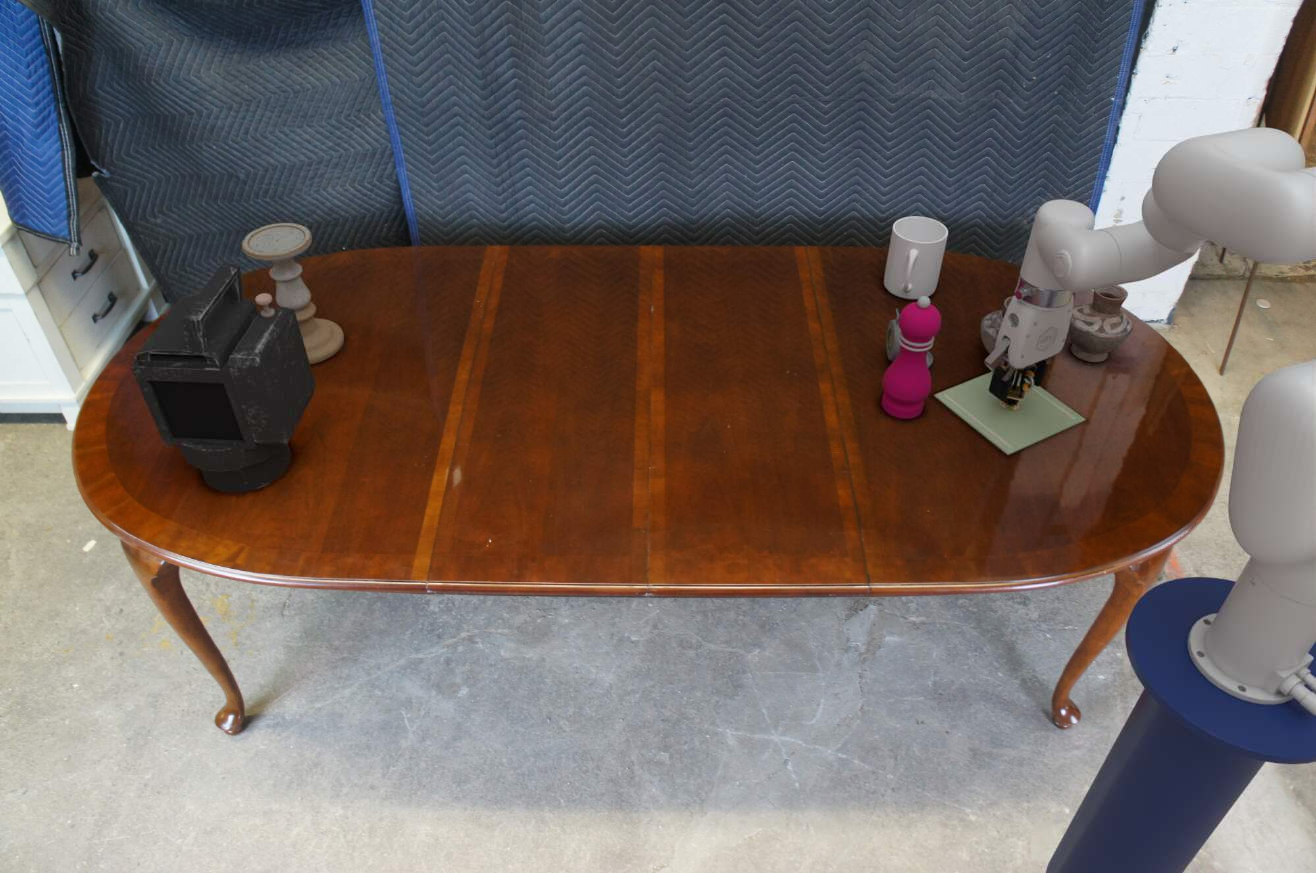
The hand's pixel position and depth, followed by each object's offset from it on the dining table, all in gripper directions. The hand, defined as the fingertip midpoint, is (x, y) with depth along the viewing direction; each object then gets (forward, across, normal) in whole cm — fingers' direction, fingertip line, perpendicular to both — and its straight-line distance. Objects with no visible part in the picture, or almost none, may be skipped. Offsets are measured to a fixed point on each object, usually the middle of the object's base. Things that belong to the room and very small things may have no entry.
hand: (1014, 388), depth 149 cm
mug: (+4, +9, +34) cm, 35 cm away
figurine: (+3, 0, 0) cm, 3 cm away
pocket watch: (+4, -6, +18) cm, 19 cm away
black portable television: (+4, -104, +45) cm, 113 cm away
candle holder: (+4, -90, +71) cm, 114 cm away
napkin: (+4, 0, 0) cm, 4 cm away
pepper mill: (+4, -14, +9) cm, 17 cm away
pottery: (+4, +15, +7) cm, 17 cm away
